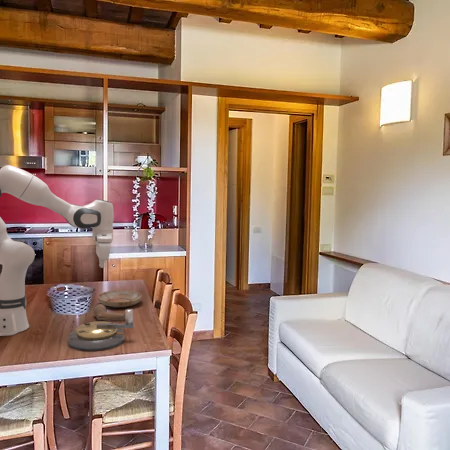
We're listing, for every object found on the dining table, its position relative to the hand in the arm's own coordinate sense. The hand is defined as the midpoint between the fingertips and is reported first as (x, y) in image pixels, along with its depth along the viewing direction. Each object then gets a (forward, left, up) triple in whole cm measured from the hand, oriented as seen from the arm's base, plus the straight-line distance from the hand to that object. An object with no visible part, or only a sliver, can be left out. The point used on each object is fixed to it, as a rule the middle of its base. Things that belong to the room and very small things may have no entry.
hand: (101, 267), depth 193 cm
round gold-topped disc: (-1, -18, -24) cm, 30 cm away
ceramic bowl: (+15, +34, -28) cm, 46 cm away
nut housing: (-5, -16, -28) cm, 32 cm away
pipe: (+6, +11, -28) cm, 31 cm away
